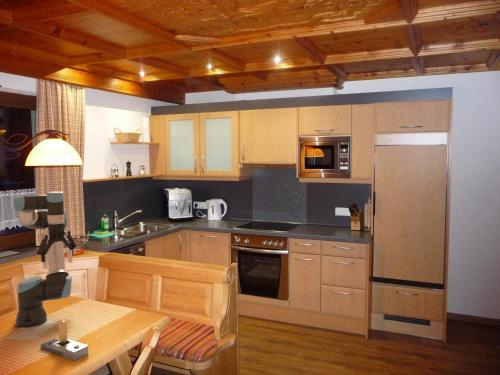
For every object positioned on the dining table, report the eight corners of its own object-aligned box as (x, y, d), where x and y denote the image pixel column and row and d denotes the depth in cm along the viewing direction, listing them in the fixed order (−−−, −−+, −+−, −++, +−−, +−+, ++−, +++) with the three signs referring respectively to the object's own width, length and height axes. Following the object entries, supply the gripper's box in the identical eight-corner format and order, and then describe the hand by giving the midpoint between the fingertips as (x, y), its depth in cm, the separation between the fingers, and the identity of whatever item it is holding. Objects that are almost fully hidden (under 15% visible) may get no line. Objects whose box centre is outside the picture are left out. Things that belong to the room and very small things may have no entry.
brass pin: (58, 352, 188) (57, 322, 187) (65, 349, 191) (63, 319, 190) (63, 353, 187) (61, 323, 186) (69, 350, 190) (68, 320, 188)
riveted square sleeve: (40, 348, 192) (40, 339, 192) (54, 342, 198) (54, 333, 198) (74, 360, 180) (74, 350, 180) (88, 354, 186) (87, 344, 186)
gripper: (37, 227, 192) (39, 272, 194) (82, 220, 214) (84, 260, 215) (27, 226, 196) (29, 270, 198) (73, 219, 218) (74, 259, 219)
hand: (58, 265), depth 206 cm, fingers open, 13 cm apart
